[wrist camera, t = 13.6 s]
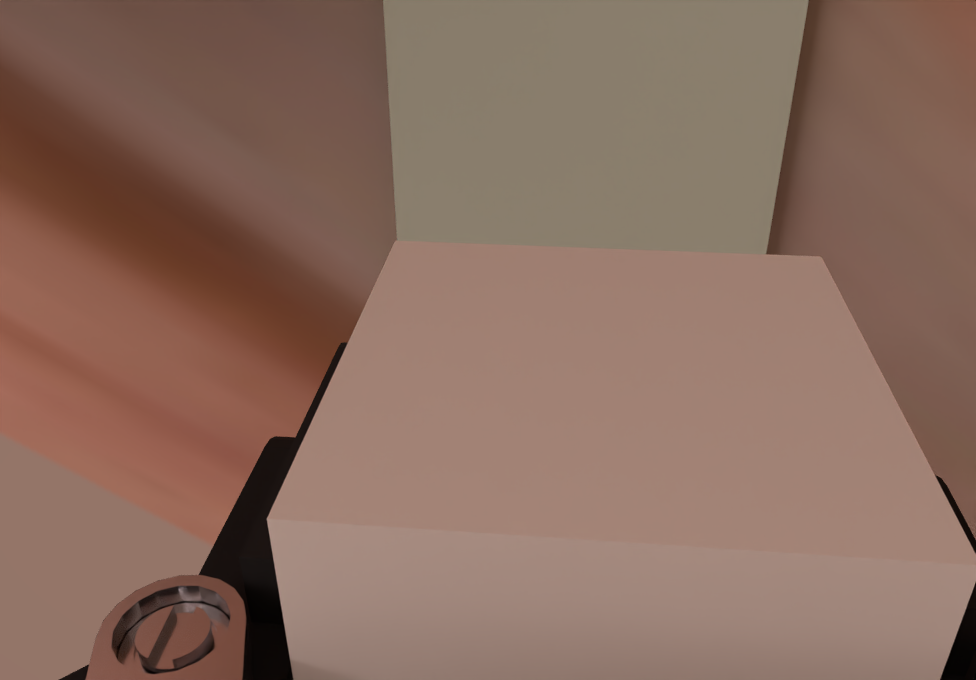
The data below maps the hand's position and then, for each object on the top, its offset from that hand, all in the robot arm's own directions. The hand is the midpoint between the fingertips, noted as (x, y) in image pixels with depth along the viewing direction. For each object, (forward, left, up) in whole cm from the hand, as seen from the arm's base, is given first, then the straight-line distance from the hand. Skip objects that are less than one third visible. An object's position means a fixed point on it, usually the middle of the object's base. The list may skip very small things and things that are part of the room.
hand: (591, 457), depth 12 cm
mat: (0, 0, -14) cm, 14 cm away
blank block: (0, 0, -1) cm, 1 cm away
